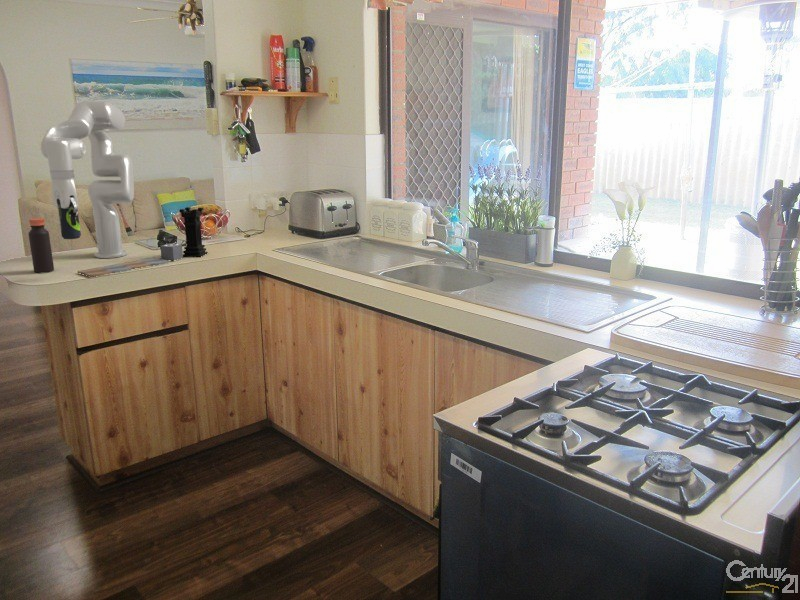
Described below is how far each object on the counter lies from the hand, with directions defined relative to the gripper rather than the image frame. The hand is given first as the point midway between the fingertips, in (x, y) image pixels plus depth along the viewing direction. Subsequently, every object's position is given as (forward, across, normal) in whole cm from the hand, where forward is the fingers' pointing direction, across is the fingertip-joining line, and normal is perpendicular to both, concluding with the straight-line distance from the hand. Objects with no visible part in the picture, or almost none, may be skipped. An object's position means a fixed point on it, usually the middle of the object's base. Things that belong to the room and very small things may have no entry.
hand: (69, 225), depth 232 cm
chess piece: (+20, 0, +51) cm, 54 cm away
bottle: (+19, -19, -4) cm, 27 cm away
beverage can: (+5, 0, 0) cm, 5 cm away
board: (+19, 0, +19) cm, 27 cm away
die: (+19, 0, +40) cm, 44 cm away
